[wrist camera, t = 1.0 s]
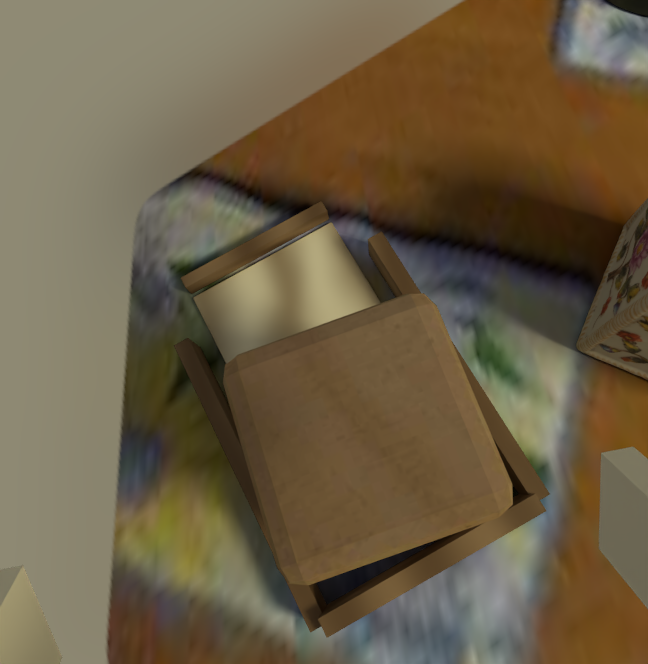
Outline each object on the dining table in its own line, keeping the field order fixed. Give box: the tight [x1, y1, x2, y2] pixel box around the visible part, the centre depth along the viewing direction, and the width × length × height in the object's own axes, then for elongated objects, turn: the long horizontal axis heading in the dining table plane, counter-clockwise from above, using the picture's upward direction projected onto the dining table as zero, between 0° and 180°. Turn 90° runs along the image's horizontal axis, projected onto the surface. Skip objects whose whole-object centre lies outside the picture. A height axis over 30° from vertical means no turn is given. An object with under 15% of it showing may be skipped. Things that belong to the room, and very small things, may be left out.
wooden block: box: [223, 293, 513, 585], centre depth 32 cm, size 10×10×20 cm
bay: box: [174, 202, 549, 637], centre depth 42 cm, size 18×28×4 cm, turn 29°
